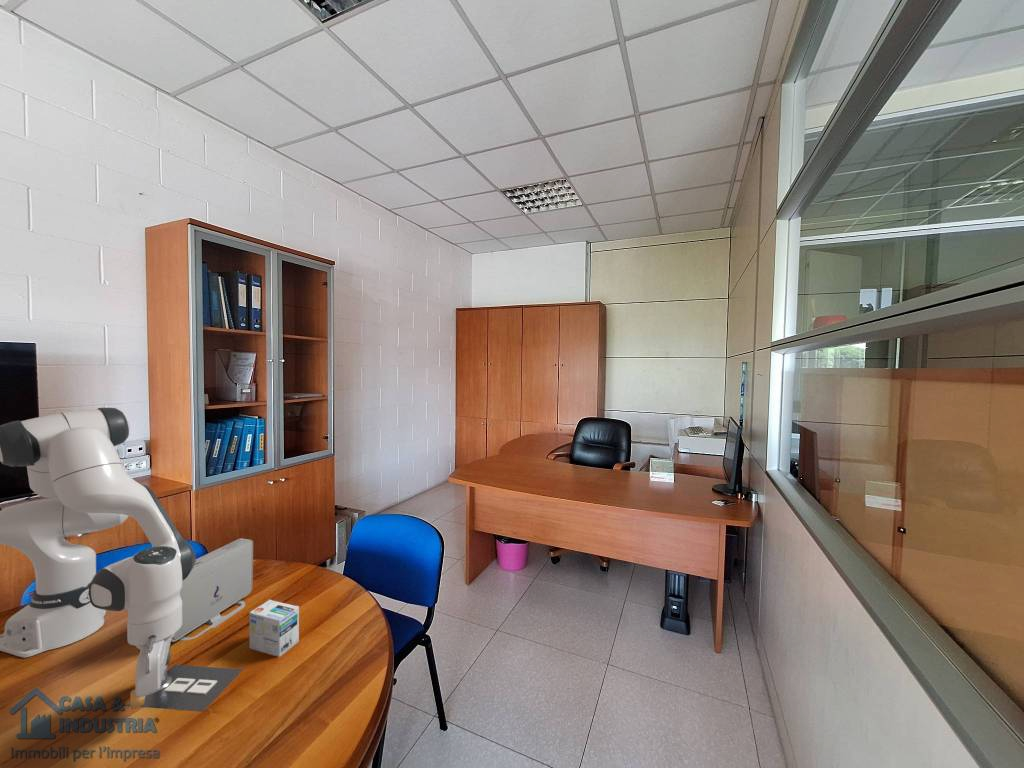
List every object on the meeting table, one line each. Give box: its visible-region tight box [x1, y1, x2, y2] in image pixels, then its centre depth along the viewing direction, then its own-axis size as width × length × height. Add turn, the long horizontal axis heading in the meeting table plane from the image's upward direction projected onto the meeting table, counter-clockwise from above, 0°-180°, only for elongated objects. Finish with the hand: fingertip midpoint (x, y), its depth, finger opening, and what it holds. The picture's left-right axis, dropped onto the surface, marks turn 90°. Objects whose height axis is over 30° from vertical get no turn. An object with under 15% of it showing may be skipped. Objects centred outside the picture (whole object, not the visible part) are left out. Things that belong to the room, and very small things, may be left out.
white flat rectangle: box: [187, 679, 217, 694], centre depth 91 cm, size 4×4×1 cm
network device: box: [171, 537, 254, 643], centre depth 116 cm, size 26×9×20 cm, turn 168°
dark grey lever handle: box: [130, 647, 171, 710], centre depth 87 cm, size 15×4×3 cm, turn 26°
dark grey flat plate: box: [125, 664, 244, 712], centre depth 92 cm, size 18×12×1 cm, turn 88°
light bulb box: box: [249, 599, 300, 658], centre depth 106 cm, size 11×7×11 cm, turn 74°
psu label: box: [164, 678, 195, 693], centre depth 92 cm, size 4×4×1 cm
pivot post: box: [158, 664, 172, 691], centre depth 92 cm, size 4×4×5 cm
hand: (155, 685), depth 84 cm, fingers closed
